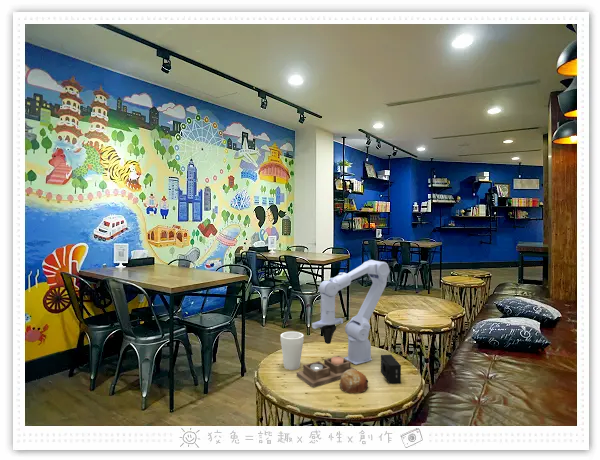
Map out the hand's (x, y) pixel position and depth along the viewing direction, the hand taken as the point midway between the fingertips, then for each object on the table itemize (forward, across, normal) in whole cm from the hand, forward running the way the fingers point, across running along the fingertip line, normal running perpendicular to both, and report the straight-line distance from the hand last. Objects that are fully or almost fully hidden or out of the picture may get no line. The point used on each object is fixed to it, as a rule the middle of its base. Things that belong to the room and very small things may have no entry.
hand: (327, 343), depth 145 cm
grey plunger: (+8, +11, +7) cm, 15 cm away
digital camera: (+10, -13, +21) cm, 27 cm away
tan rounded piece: (+7, 0, +7) cm, 10 cm away
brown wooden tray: (+9, +6, +7) cm, 13 cm away
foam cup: (+10, +13, -7) cm, 18 cm away
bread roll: (+10, +3, +20) cm, 22 cm away
